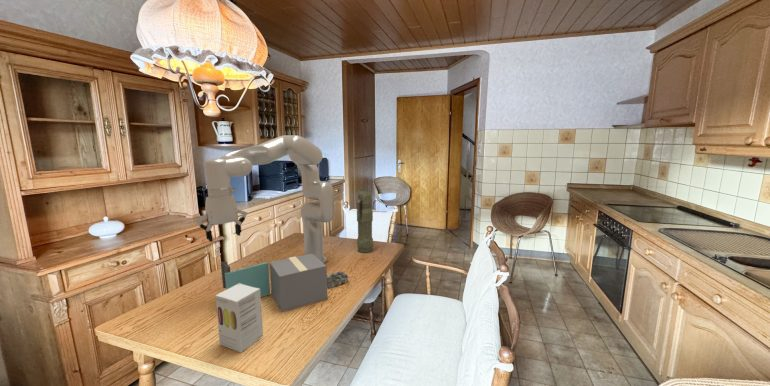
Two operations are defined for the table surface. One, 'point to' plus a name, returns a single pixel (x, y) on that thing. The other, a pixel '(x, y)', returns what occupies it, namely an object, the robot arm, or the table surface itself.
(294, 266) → the carton
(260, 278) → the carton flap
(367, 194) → the thermos
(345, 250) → the table surface
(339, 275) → the egg carton
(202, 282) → the table surface
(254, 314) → the supplement box
